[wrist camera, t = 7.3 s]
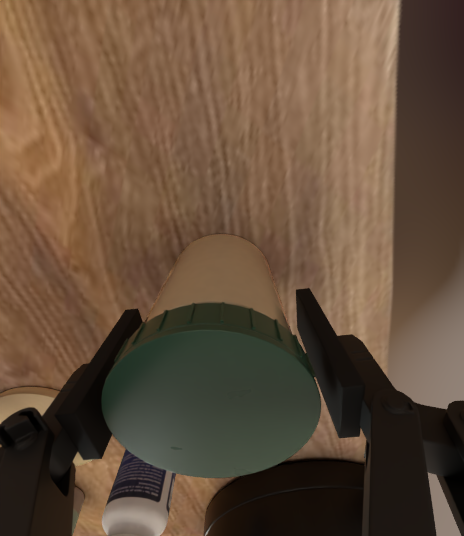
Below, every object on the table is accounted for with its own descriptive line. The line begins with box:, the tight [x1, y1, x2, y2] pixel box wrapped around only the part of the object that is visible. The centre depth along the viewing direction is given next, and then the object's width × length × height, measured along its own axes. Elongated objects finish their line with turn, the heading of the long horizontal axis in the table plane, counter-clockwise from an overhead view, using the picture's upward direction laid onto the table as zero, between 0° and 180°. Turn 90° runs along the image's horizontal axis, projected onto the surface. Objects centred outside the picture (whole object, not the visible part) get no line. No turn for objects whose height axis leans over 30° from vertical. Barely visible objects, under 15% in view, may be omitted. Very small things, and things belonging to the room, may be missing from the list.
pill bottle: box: [102, 449, 176, 536], centre depth 23 cm, size 5×5×10 cm
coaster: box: [0, 387, 93, 467], centre depth 26 cm, size 12×12×1 cm
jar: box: [144, 234, 292, 334], centre depth 15 cm, size 8×8×10 cm
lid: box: [101, 302, 321, 478], centre depth 10 cm, size 8×8×2 cm
